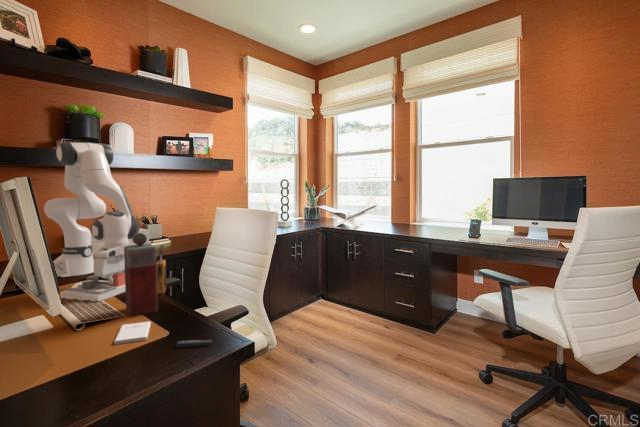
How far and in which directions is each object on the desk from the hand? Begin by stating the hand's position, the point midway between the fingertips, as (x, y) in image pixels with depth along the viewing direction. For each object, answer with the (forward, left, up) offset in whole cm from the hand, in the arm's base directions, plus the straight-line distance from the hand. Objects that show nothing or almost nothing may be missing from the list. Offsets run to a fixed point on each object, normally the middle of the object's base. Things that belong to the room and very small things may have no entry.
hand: (118, 281), depth 143 cm
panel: (-5, -5, -4) cm, 8 cm away
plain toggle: (-10, -3, -1) cm, 11 cm away
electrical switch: (-23, +19, -4) cm, 30 cm away
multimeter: (+16, +1, -4) cm, 17 cm away
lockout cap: (0, 0, -1) cm, 1 cm away
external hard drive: (+39, -35, -5) cm, 53 cm away
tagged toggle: (-5, -9, -1) cm, 11 cm away
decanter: (+26, -17, -4) cm, 31 cm away
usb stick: (+61, -38, -4) cm, 72 cm away
